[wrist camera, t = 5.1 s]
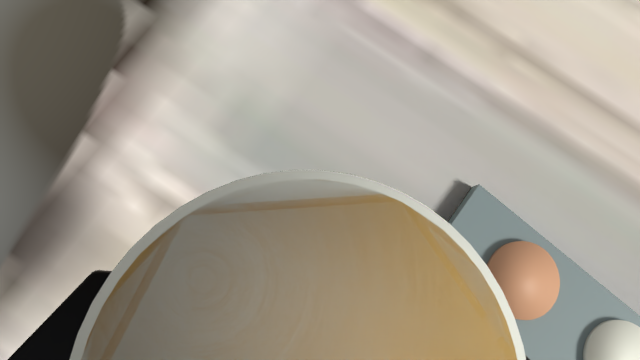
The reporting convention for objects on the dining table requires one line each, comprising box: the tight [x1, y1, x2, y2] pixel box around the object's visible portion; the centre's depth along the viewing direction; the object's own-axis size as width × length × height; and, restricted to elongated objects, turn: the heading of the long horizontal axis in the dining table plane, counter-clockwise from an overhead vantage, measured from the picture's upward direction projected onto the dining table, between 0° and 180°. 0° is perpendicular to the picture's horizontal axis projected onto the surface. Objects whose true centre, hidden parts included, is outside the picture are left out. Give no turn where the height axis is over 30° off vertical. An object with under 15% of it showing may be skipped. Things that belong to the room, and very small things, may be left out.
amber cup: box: [69, 170, 526, 360], centre depth 11 cm, size 5×5×10 cm
